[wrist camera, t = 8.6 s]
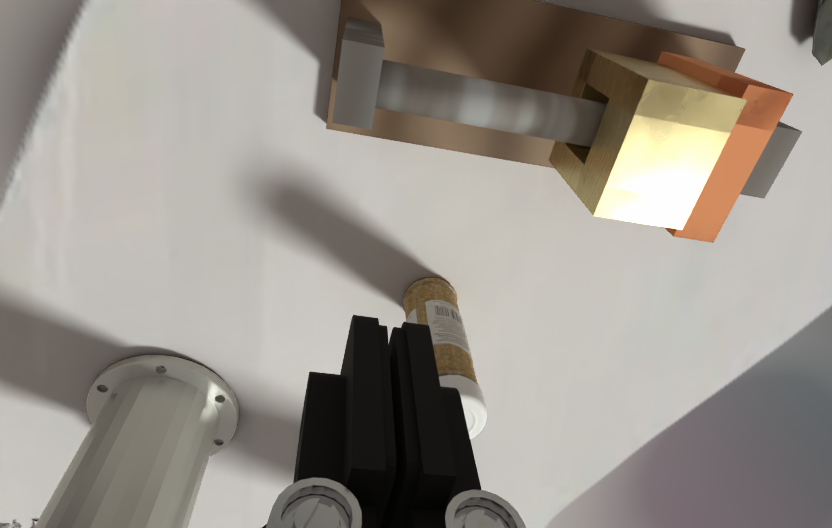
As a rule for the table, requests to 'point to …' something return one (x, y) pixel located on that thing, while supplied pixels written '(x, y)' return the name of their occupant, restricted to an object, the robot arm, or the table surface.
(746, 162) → the orange rectangular slab
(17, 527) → the grey relief sculpture
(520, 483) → the table surface
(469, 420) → the sprinkles bottle
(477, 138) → the machine model on base
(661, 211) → the sleeve
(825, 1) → the avocado toast plate
